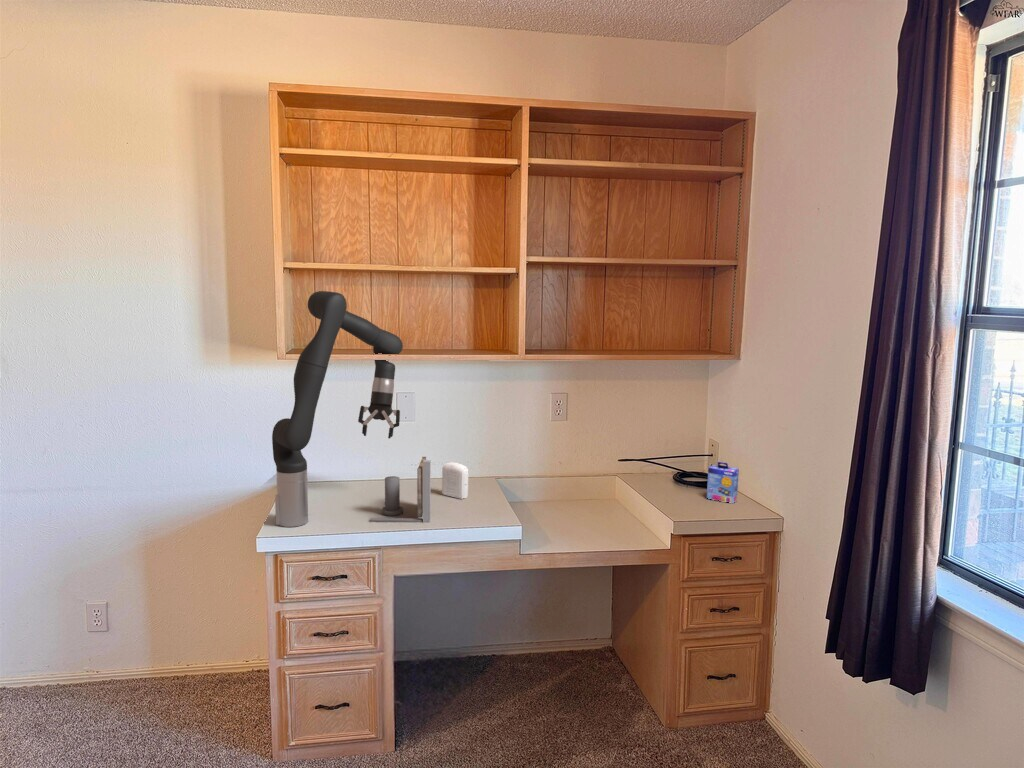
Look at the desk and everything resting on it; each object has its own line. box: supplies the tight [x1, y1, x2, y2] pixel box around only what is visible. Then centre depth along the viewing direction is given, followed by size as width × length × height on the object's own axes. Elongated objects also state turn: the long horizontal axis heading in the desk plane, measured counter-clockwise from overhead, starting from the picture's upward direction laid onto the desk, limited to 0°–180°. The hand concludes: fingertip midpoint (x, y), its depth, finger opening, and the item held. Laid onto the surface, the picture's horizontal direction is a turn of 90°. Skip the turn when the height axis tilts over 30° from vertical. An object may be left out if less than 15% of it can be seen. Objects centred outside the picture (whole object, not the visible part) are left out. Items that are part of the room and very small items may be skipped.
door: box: [416, 456, 432, 518], centre depth 232 cm, size 17×3×16 cm, turn 2°
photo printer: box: [441, 461, 469, 500], centre depth 253 cm, size 10×4×12 cm, turn 56°
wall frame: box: [369, 459, 432, 523], centre depth 224 cm, size 19×2×20 cm, turn 92°
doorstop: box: [381, 475, 404, 517], centre depth 233 cm, size 7×7×12 cm
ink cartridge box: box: [706, 461, 740, 504], centre depth 254 cm, size 10×6×14 cm, turn 56°
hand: (377, 437), depth 246 cm, fingers open, 8 cm apart
